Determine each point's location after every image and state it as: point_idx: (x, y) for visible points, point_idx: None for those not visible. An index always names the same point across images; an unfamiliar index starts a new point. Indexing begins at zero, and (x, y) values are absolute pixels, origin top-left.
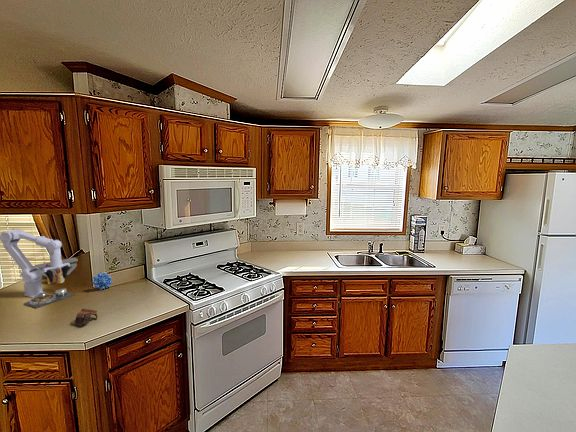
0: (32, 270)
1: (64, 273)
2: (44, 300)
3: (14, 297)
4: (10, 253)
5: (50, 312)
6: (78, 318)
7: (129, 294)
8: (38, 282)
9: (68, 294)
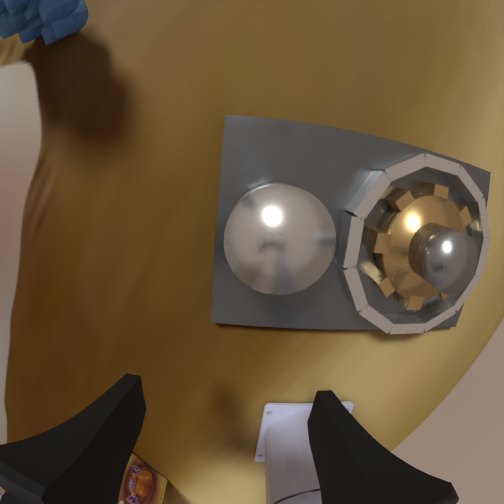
0: None
1: (113, 435)
2: (445, 199)
3: None
4: None
5: (475, 34)
6: None
7: None
8: (316, 482)
9: (253, 152)
